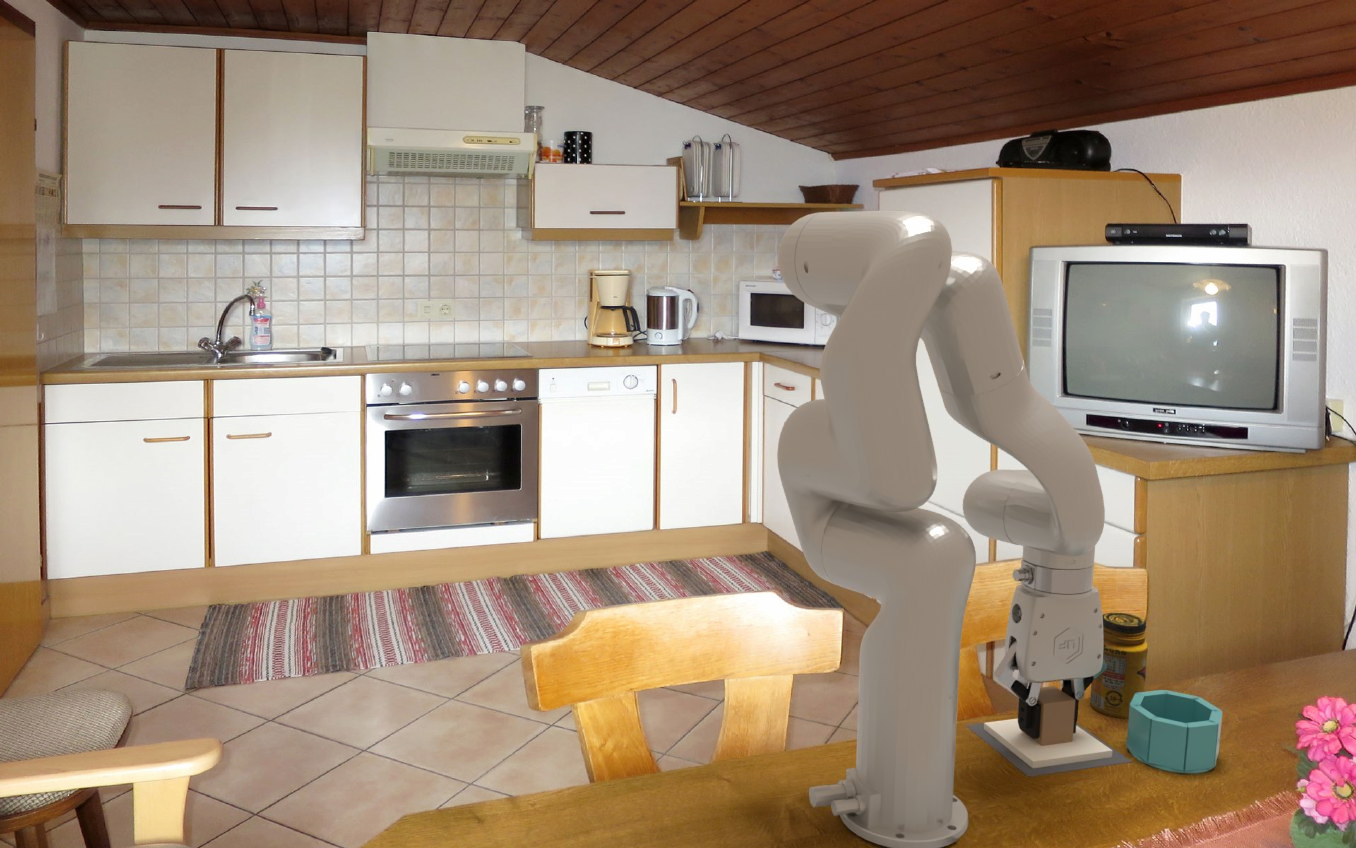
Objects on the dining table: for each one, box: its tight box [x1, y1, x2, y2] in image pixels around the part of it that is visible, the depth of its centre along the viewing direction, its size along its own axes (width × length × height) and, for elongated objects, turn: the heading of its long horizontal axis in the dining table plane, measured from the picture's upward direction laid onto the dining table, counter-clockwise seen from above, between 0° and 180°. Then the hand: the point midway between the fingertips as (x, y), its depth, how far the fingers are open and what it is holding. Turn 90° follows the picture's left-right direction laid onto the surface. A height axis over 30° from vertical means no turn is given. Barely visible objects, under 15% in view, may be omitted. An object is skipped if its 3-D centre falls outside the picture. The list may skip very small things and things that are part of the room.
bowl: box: [1125, 689, 1223, 774], centre depth 123 cm, size 9×9×6 cm
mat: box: [965, 722, 1133, 778], centre depth 126 cm, size 13×13×1 cm
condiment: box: [1089, 612, 1149, 719], centre depth 134 cm, size 7×8×12 cm
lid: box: [983, 685, 1113, 768], centre depth 126 cm, size 10×10×6 cm
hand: (1047, 729), depth 126 cm, fingers closed on lid, 4 cm apart
